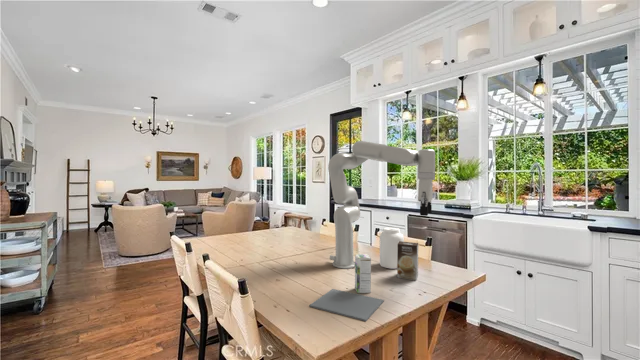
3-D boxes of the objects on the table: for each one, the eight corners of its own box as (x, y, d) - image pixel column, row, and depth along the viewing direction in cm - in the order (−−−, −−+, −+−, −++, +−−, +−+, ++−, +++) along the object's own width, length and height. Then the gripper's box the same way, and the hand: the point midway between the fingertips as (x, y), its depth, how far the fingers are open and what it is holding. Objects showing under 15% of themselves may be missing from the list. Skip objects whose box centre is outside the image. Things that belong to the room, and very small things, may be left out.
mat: (309, 306, 108) (309, 304, 108) (332, 290, 124) (332, 288, 124) (366, 321, 97) (366, 319, 97) (383, 301, 112) (383, 299, 112)
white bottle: (406, 264, 159) (406, 227, 159) (399, 270, 149) (399, 231, 149) (384, 261, 166) (384, 225, 166) (376, 266, 156) (376, 228, 155)
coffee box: (396, 277, 138) (396, 243, 138) (399, 273, 144) (398, 241, 144) (417, 280, 135) (417, 245, 134) (418, 276, 140) (418, 242, 140)
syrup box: (354, 288, 126) (354, 254, 126) (368, 287, 126) (368, 253, 126) (357, 293, 120) (357, 257, 120) (371, 293, 120) (371, 257, 120)
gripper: (421, 176, 144) (421, 211, 144) (413, 176, 129) (413, 215, 129) (437, 176, 140) (437, 212, 140) (431, 176, 125) (431, 217, 125)
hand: (425, 214), depth 135 cm, fingers open, 9 cm apart
